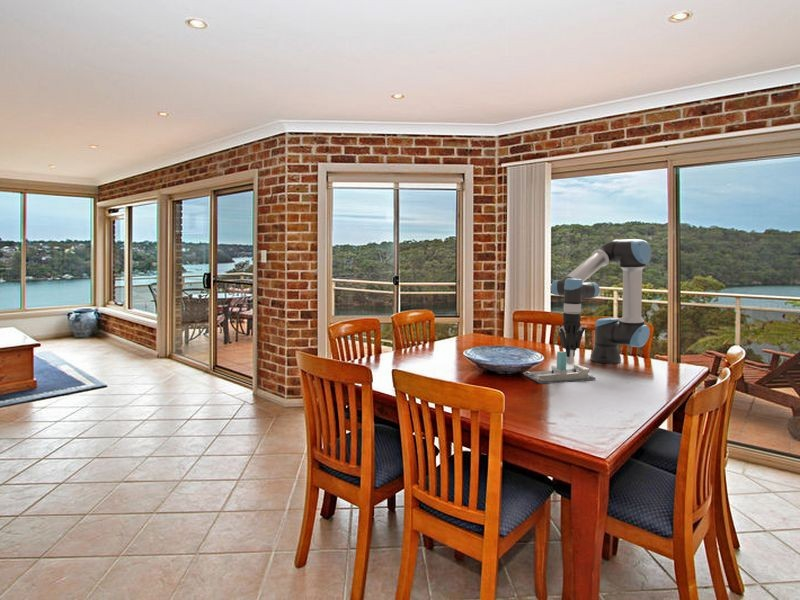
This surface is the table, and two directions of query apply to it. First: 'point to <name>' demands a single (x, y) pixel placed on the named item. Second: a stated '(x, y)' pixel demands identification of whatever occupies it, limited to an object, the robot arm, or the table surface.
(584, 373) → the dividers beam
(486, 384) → the table surface
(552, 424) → the table surface
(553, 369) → the sliding leg
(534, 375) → the bolt plate
